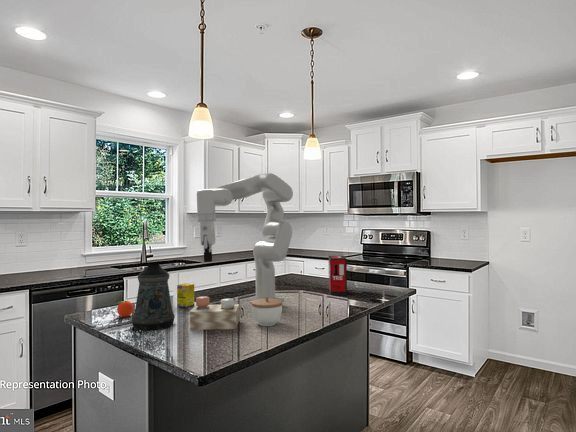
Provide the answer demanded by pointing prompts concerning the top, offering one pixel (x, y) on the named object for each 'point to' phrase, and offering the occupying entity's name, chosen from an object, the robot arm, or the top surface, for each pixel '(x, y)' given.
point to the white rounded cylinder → (227, 303)
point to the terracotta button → (202, 302)
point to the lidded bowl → (267, 311)
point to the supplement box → (185, 295)
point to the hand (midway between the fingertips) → (208, 261)
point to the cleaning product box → (337, 275)
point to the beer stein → (153, 300)
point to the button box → (214, 318)
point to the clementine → (125, 308)
